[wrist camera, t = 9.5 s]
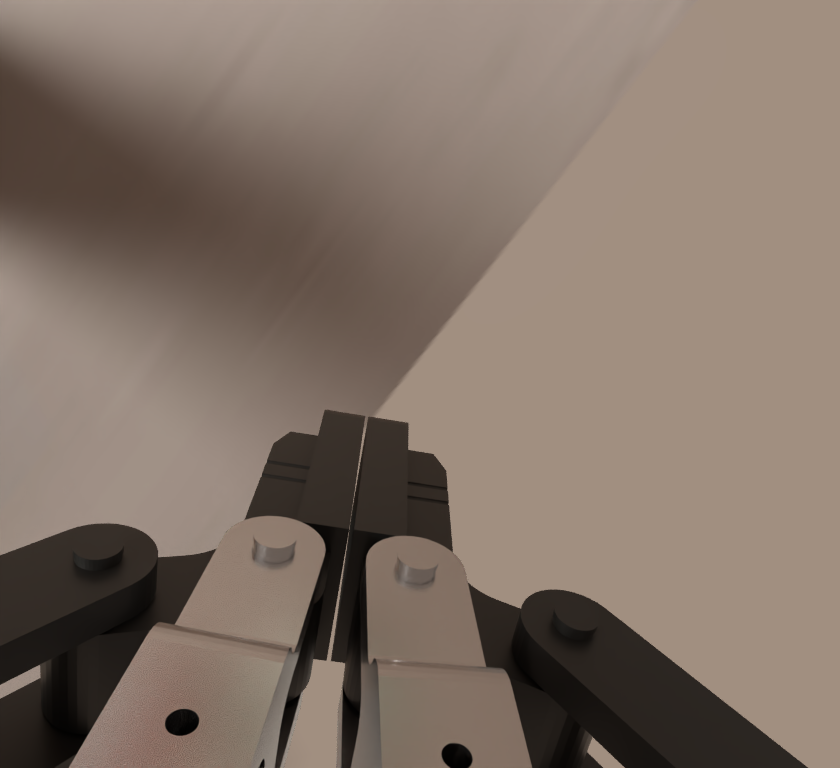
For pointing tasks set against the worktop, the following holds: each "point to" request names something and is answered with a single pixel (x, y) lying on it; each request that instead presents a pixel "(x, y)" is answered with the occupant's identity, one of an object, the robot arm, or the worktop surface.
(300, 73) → the worktop surface
